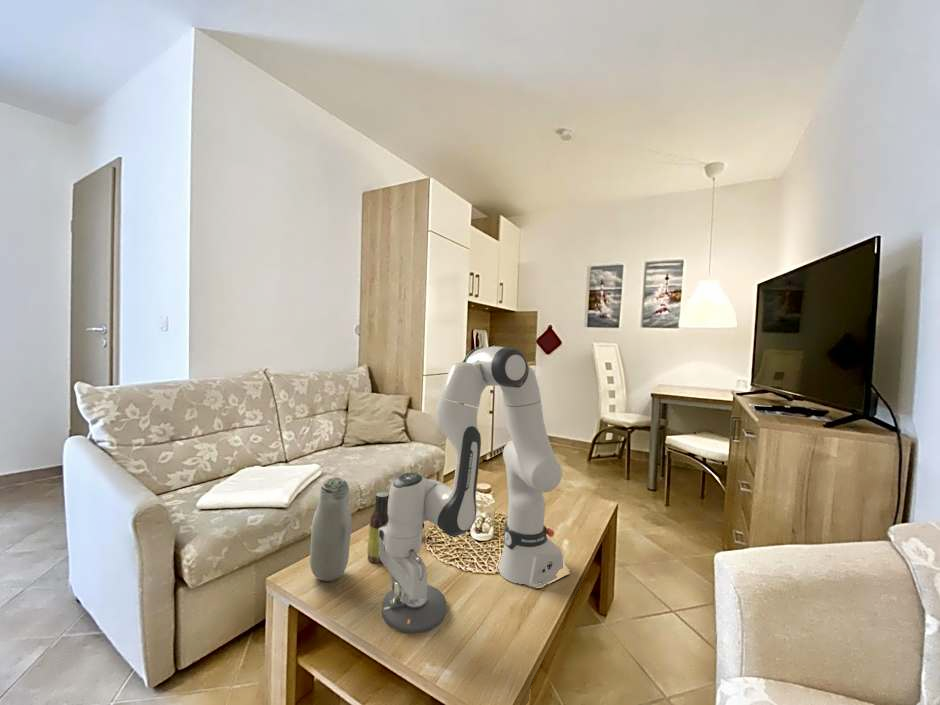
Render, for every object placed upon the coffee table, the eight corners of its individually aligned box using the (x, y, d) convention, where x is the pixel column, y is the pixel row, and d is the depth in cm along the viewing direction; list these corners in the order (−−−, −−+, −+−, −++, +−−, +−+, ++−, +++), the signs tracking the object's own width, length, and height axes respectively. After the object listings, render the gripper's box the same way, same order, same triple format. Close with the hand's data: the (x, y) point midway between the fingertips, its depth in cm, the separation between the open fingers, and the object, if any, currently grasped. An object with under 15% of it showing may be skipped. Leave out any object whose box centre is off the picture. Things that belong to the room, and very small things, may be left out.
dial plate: (432, 584, 113) (432, 576, 112) (455, 623, 98) (456, 614, 98) (375, 597, 105) (375, 589, 105) (391, 641, 91) (392, 631, 91)
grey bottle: (301, 581, 109) (307, 481, 108) (327, 562, 119) (333, 470, 118) (330, 592, 106) (337, 488, 105) (354, 572, 115) (361, 476, 114)
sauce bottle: (382, 565, 120) (387, 500, 119) (363, 561, 121) (367, 497, 120) (391, 554, 126) (395, 492, 125) (372, 550, 127) (377, 489, 127)
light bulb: (421, 591, 106) (423, 569, 105) (430, 605, 100) (431, 582, 100) (386, 599, 101) (388, 576, 101) (393, 615, 96) (395, 591, 96)
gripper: (436, 558, 92) (431, 617, 93) (397, 521, 109) (394, 570, 109) (411, 566, 88) (406, 626, 89) (375, 526, 105) (372, 577, 106)
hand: (399, 595), depth 99 cm, fingers open, 3 cm apart
